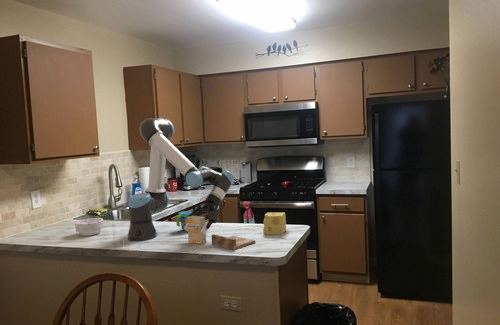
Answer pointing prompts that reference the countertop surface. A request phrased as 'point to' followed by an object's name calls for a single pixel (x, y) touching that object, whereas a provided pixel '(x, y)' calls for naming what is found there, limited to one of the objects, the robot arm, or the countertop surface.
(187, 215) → the snack cup
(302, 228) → the countertop surface
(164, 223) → the countertop surface
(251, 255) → the countertop surface
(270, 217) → the cheese
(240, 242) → the mounting block
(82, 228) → the paper bowls
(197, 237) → the supplement box
